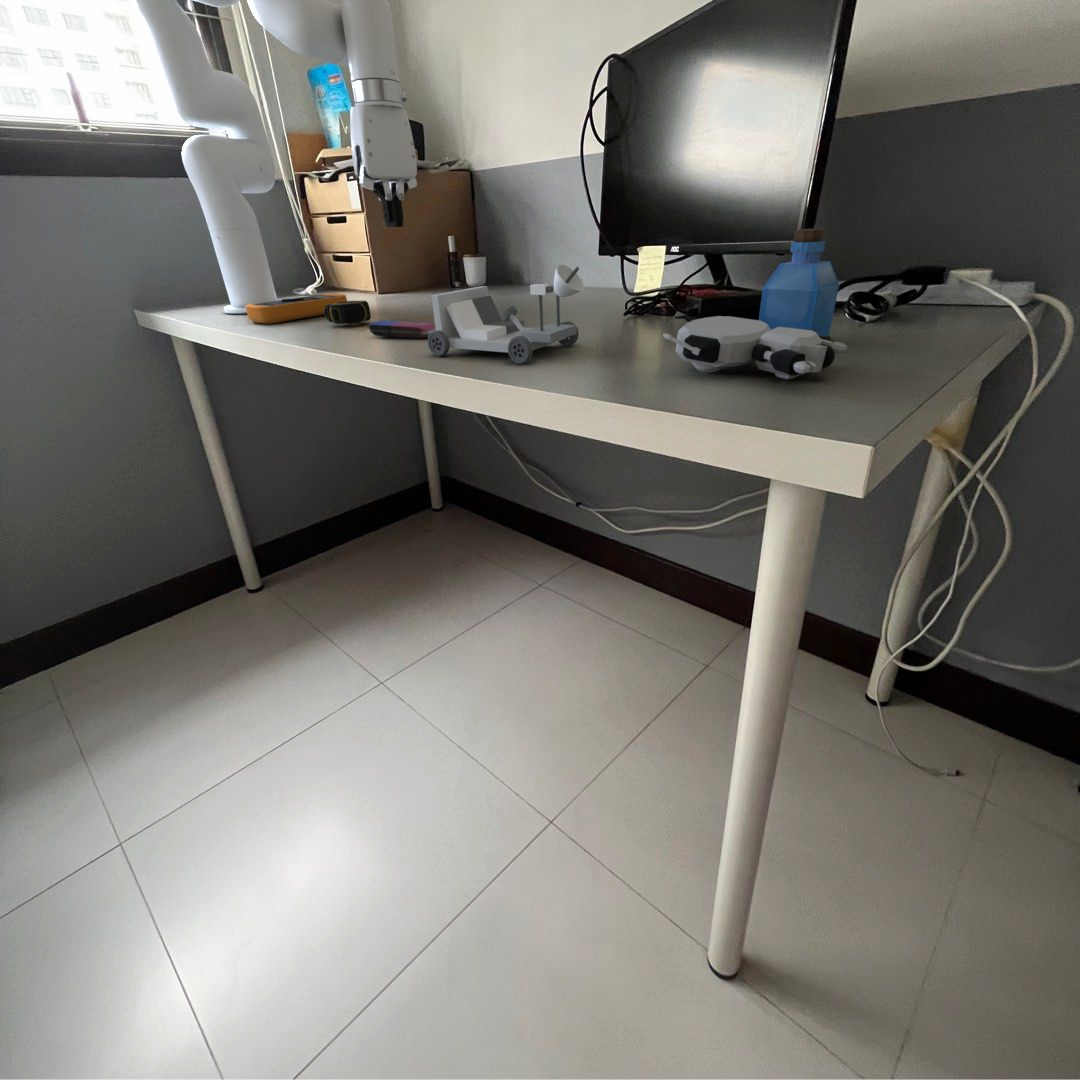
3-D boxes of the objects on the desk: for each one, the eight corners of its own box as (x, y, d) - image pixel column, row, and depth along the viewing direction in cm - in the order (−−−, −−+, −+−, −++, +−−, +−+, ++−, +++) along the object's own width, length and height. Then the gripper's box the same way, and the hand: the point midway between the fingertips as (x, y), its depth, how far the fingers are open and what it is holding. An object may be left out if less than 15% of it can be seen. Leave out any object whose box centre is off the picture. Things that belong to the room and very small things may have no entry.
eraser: (445, 334, 86) (443, 322, 85) (430, 339, 82) (429, 326, 81) (383, 331, 89) (381, 319, 89) (366, 335, 86) (364, 323, 85)
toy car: (597, 260, 67) (545, 270, 59) (597, 347, 72) (549, 367, 63) (477, 262, 76) (417, 270, 67) (484, 339, 81) (429, 355, 72)
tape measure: (364, 320, 103) (360, 298, 101) (378, 324, 98) (374, 300, 96) (326, 325, 100) (321, 302, 98) (339, 329, 95) (334, 305, 93)
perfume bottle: (755, 343, 69) (770, 231, 63) (778, 335, 73) (794, 228, 67) (806, 349, 65) (828, 229, 59) (828, 340, 69) (850, 227, 63)
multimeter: (245, 322, 108) (239, 303, 106) (328, 309, 120) (324, 292, 118) (267, 325, 103) (262, 305, 101) (351, 311, 115) (348, 293, 113)
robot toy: (845, 374, 57) (707, 350, 66) (858, 328, 55) (714, 308, 63) (803, 404, 50) (653, 372, 58) (817, 351, 47) (658, 325, 55)
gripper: (404, 105, 99) (418, 225, 108) (323, 96, 90) (346, 228, 99) (429, 99, 94) (441, 225, 103) (347, 89, 85) (368, 228, 94)
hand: (394, 226), depth 101 cm, fingers closed
